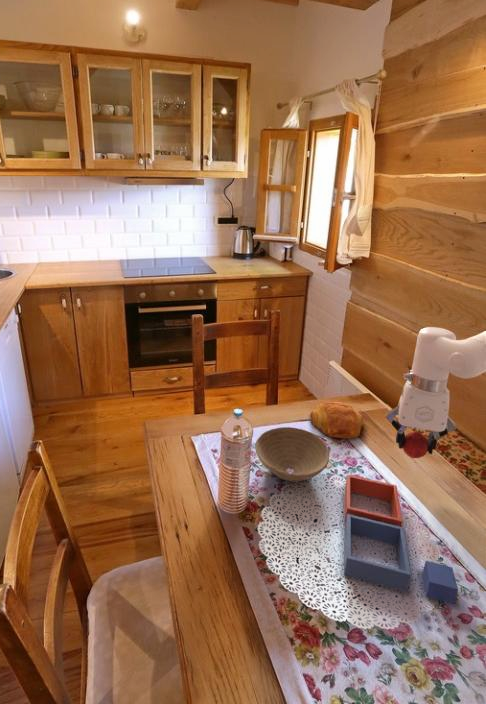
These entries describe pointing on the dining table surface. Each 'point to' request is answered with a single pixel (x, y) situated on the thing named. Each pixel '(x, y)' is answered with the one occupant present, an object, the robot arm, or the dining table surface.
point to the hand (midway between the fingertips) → (414, 447)
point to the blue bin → (371, 569)
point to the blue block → (439, 582)
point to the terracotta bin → (373, 490)
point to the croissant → (337, 419)
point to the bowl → (292, 453)
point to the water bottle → (235, 463)
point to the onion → (415, 444)
